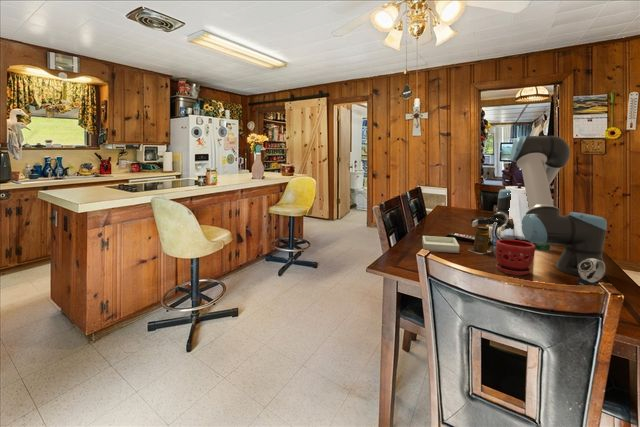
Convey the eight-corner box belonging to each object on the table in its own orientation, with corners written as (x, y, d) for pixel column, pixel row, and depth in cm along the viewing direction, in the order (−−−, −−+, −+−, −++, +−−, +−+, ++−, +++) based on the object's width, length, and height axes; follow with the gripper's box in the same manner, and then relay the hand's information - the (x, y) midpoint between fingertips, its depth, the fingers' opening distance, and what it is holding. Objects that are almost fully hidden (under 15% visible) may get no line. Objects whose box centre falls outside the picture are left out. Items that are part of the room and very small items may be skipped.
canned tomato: (543, 246, 160) (546, 225, 158) (553, 251, 153) (556, 229, 151) (527, 246, 161) (529, 225, 159) (536, 251, 153) (538, 229, 151)
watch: (571, 287, 111) (576, 257, 109) (591, 285, 113) (596, 256, 111) (586, 293, 106) (591, 262, 104) (607, 292, 107) (612, 261, 105)
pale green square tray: (458, 253, 150) (459, 246, 149) (423, 250, 154) (424, 243, 154) (454, 244, 165) (454, 237, 165) (422, 242, 169) (422, 235, 169)
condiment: (491, 251, 153) (493, 227, 150) (481, 254, 148) (484, 229, 146) (476, 248, 159) (479, 224, 156) (467, 250, 154) (469, 226, 152)
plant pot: (538, 278, 119) (542, 247, 117) (500, 276, 122) (504, 246, 119) (522, 266, 132) (526, 238, 130) (489, 264, 134) (491, 237, 132)
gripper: (524, 229, 166) (514, 238, 151) (474, 222, 183) (461, 229, 168) (526, 216, 165) (516, 222, 150) (475, 210, 182) (462, 215, 166)
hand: (487, 226), depth 159 cm, fingers open, 13 cm apart
